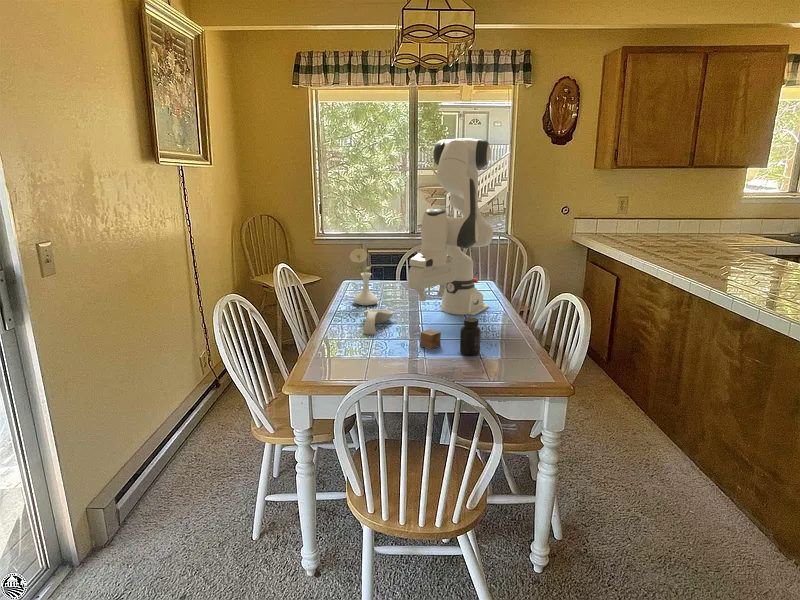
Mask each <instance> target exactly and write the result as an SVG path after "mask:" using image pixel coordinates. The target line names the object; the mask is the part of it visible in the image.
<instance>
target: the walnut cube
mask: <svg viewBox="0 0 800 600" xmlns="http://www.w3.org/2000/svg"><path fill="white" fill-rule="evenodd" d="M419 337H420V338H419V345H421V347H423V346H424V347H423V348H426V347H427V348H426V349H429V348H430V349H429V350H432V348H433V349H435V348H437V346H438V347H440V346H441V340H442V339H441V337H442V332H440V331H438V330H435V329H431V328H428V329H426V330H423V331H420V336H419Z"/></svg>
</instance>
